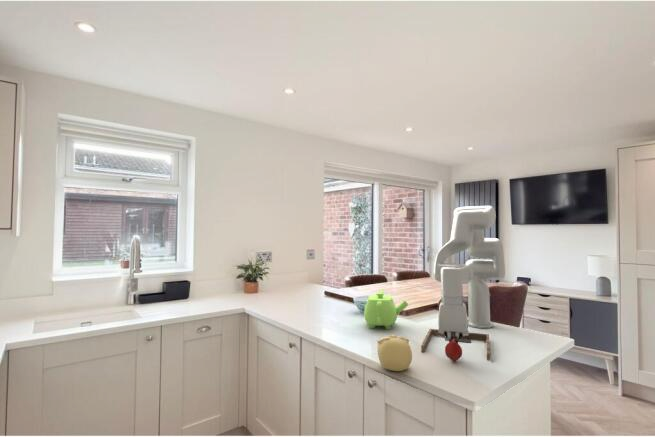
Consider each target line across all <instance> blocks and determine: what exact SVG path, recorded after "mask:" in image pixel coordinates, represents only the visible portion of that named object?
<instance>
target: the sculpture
mask: <svg viewBox="0 0 655 437" xmlns="http://www.w3.org/2000/svg"><path fill="white" fill-rule="evenodd" d="M409 342H410V339H409V338H406V337H404V336H399V335H396V334H389V335H388V336H386V337H382V338H380V339H379V338H378V340H377V357H378V361H379V363H380V365H381V367H382V368H384V369H386V370H388V371H392V372H402V371H405V370H407V369H409V367H411V364H412V360H413V352H412V349H411V346H410V344H409Z"/></svg>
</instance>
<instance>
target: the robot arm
mask: <svg viewBox="0 0 655 437" xmlns="http://www.w3.org/2000/svg"><path fill="white" fill-rule="evenodd" d="M496 214H497V213H496V210H495V208H494V207H493V206H492V205H476V206H474V205H471V206H460V207H457V208H455V209H454V211H453V221H452V227H451V233H450V239H449V241H448V242H446V243H445V244H444V245H443V246H442V247H441V248H440V249H439V250H438V251H437V253H436V256H435V259H434V266H433V277H434V279H435V280H436V282H439V283H440V293H441V302H439V306H438V316H437V317H438V320H437V322H438V325H437V326H438V329H437V330H438V332H439V333H441V334H444V335H445V336H446V337H447V338H448V339H449V341H448V343H449V342H450V341H452V340H453V337H452V333H451V332H456V334H455V337H454V339H455V342H457V343H458V344H459V342H458V340H459V339H460V338H461V337H462V336H468V335H469V333H470V332H469V327H471V328H478V329H491V328H493V327H494V326H495V325H494V322H492V321H491V309H490V308H491V307H490V302H491V301H490V288H489V286H488V284H487V283H486V282H485V280H490V281H491V280H492V281H500V280H501V281H502V280H503V279H504V278H505V275H506V264H505V255H504V254H505V253H504V246H503V243H502V240H500V239H499V238H496V237H485V232H484V230H485V231H486V230H489V229H490V228H491V227H492V226H493V225H494V223H495V221H496V218H497V216H496ZM465 250H466V254H467V256H468V257H469V258H470V259H468V260H467V261H466V262H465V263H451V262H450V263H447V262H446V260H447V259H448V258H450V257H451V256H453V255H456V254H458V253H461V252H464V251H465ZM466 284H467V297H464V291H463V288H464V286H463V285H466ZM466 302H467V304H468V305H466ZM467 307H468V310H467ZM446 337H445V338H446Z"/></svg>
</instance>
